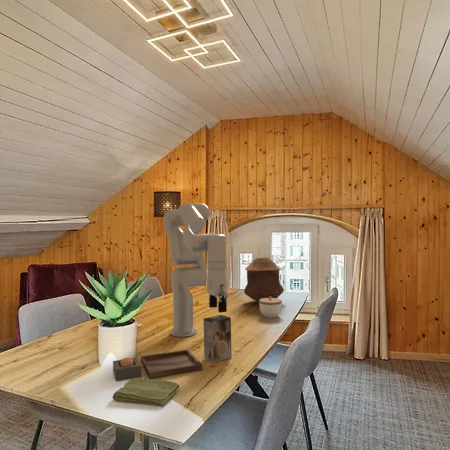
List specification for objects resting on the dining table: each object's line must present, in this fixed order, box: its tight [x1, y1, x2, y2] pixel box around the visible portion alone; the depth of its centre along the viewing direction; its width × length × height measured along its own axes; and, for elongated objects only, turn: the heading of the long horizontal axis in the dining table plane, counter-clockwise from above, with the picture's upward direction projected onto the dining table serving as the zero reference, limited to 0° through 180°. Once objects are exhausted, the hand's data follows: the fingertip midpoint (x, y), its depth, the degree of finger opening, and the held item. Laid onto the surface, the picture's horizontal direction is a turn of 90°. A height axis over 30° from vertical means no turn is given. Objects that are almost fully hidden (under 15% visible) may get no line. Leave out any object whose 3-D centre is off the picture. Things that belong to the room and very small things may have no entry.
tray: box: [140, 349, 203, 380], centre depth 139 cm, size 17×19×2 cm
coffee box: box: [202, 314, 233, 364], centre depth 147 cm, size 9×6×16 cm
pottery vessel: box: [243, 256, 285, 305], centre depth 242 cm, size 26×26×30 cm
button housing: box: [112, 356, 143, 382], centre depth 132 cm, size 9×9×4 cm
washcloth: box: [112, 377, 180, 407], centre depth 117 cm, size 13×18×3 cm
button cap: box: [120, 357, 134, 367], centre depth 132 cm, size 4×4×3 cm
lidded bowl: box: [258, 296, 282, 319], centre depth 210 cm, size 13×13×11 cm
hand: (217, 309), depth 146 cm, fingers open, 9 cm apart
